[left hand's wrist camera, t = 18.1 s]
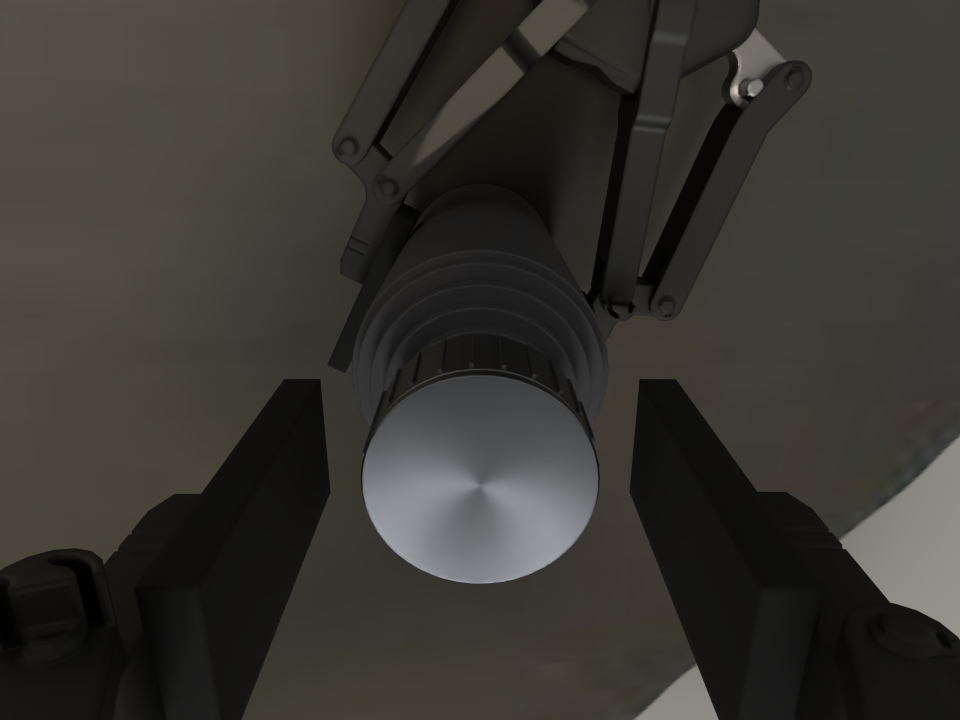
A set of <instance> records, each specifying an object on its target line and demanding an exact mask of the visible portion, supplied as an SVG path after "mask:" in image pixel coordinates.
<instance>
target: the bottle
mask: <svg viewBox="0 0 960 720" xmlns="http://www.w3.org/2000/svg"><path fill="white" fill-rule="evenodd" d="M470 334H474V335H488V336H497V337H499V336H503V338H507V339H511V340H515V341H517V342H520V343H522V344H525V345H527V344H529V345H531V348H533V349H535V350H537V351H538V352H540V353H541V354H543V355H544V356H546V357H547V358H548V359H551V358H552V359H553V360H554V363H555V365H556V366H557V367H558V368H559V369H560V370H561V371H562V373H563V374H564V375H565V376H566V378H567V379H569V378H570V379H571V381H572V383H573V386H574V389H575V392H576V395H577V398H578V401H579V402H580V401H582V404H583V406H584V409H585V412H586V415H587V418H588V421H589V424H590V427H592V426H593V424H594V422H595V420H596V418H597V416H598V414H599V412H600V410H601V407H602V404H603V401H604V398H605V394H606V388H607V383H608V355H607V348H606V344H605V340H604V336H603V333H602V330H601V328H600V325H599V323H598V320H597V318H596V316H595V314H594V313H593V311H592V309H591V307H590V305H589V304H588V302H587V300H586V298H585V296H584V295H583V293H582V291H581V289H580V288H579V286H578V284H577V282H576V280H575V279H574V277H573V275H572V273H571V271H570V270H569V268H568V266H567V264H566V262H565V261H564V259H563V257H562V255H561V253H560V252H559V250H558V248H557V246H556V245H555V243H554V241H553V239H552V237H551V236H550V234H549V232H548V230H547V228H546V227H545V225H544V223H543V221H542V220H541V218H540V216H539V214H538V213H537V212H536V210H535V209H534V208H533V207H532V206H531V205H530V204H529V203H528V202H527V201H526V200H525V199H524V198H522V197H521V196H520V195H518V194H516V193H515V192H513V191H511V190H509V189H506V188H504V187H501V186H497V185H493V184H484V183H479V184H468V185H463V186H460V187H457V188H454V189H452V190H449V191H447V192H445V193H444V194H442V195H441V196H439V197H438V198H437V199H435V200H434V201H433V202H432V203H431V204H430V205H429V206H428V207H427V208H426V209H425V211H424V212H423V214H422V215H421V216H420V218H419V220H418V222H417V223H416V225H415V227H414V229H413V231H412V232H411V234H410V236H409V238H408V239H407V241H406V243H405V245H404V247H403V248H402V250H401V252H400V254H399V256H398V257H397V259H396V261H395V263H394V265H393V266H392V268H391V270H390V272H389V274H388V275H387V277H386V279H385V281H384V283H383V284H382V286H381V288H380V290H379V292H378V293H377V295H376V297H375V299H374V301H373V302H372V304H371V306H370V308H369V310H368V311H367V313H366V315H365V317H364V319H363V321H362V323H361V325H360V328H359V331H358V334H357V337H356V340H355V346H354V351H353V358H352V377H353V387H354V391H355V395H356V400H357V403H358V406H359V408H360V411H361V413H362V416H363V418H364V420H365V421H366V423H367V425H368V427H369V429H370V427H371V424H372V421H373V418H374V415H375V412H376V409H377V406H378V403H379V401H380V398H381V395H382V392H383V390H384V391H386V390H387V388H388V387H389V385H390V383H391V381H392V380H393V378H394V376H395V373H396V371H397V370H398V369H401V368H402V367H403V366H405V365H406V364H407V363H408V362H409V361H410V360H411V359H412V358H414V357H415V356H416V354H417V352H419V351H420V352H422V351H424V350H426V349H428V348H429V347H431V346H433V345H436V344H438V343H441V342H442V340H444V339H446V340H450V339H454V338H457V337H464V336H470Z"/></svg>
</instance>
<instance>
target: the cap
mask: <svg viewBox="0 0 960 720" xmlns="http://www.w3.org/2000/svg"><path fill="white" fill-rule="evenodd" d="M594 441H595V438H594V435H593V432H592V429H591V427H590V424H589V421H588V418H587V415H586V412H585V409H584V406H583V404H582V401H580V402H579V401H578V398H577V395H576V392H575V389H574V386H573V383H572V381H571V379H570V378H569V379H567V378H566V376H565V375H564V374H563V373H562V371H561V370H560V369H559V368H558V367H557V366H556V365H555V363H554V360H553V359H552V358H551V359H548V358H547V357H546V356H544V355H543V354H541V353H540V352H538V351H537V350H535V349H533V348H531V345H529V344H527V345H525V344H522V343H520V342H517V341H515V340H511V339H507V338H503V336H499V337H497V336H488V335H474V334H470V336H464V337H457V338H454V339H450V340H446V339H444V340H442V342H441V343H438V344H436V345H433V346H431V347H429V348H428V349H426V350H424V351H422V352H420V351H419V352H417V354H416V356H415V357H414V358H412V359H411V360H410V361H409V362H408V363H407V364H406V365H405V366H403V367H402V368H401V369H398V370H397V371H396V373H395V376H394V378H393V380H392V381H391V383H390V385H389V387H388V388H387V390H386V391H384V390H383V392H382V395H381V398H380V401H379V403H378V406H377V409H376V412H375V415H374V418H373V421H372V424H371V427H370V432H369V435H368V438H367V441H366V444H365V447H364V450H363V453H362V456H364V458H363V462H362V470H361V488H362V495H363V500H364V504H365V507H366V510H367V513H368V515H369V518H370V520H371V522H372V523H373V525H374V527H375V529H376V531H377V532H378V533H379V535H380V536H381V537H382V539H383V540H384V541H385V543H386V544H387V545H388V546H389V547H390V548H391V549H392V550H393V551H394V552H395V553H397V554H398V555H399V556H400V557H402V558H403V559H404V560H405V561H407V562H409V563H410V564H412V565H414V566H415V567H417V568H419V569H421V570H423V571H425V572H427V573H429V574H432V575H435V576H438V577H441V578H444V579H448V580H452V581H457V582H465V583H496V582H504V581H508V580H513V579H517V578H520V577H523V576H526V575H529V574H531V573H533V572H536V571H538V570H540V569H542V568H544V567H545V566H547V565H549V564H550V563H552V562H553V561H555V560H556V559H558V558H559V557H560V556H561V555H563V554H564V553H565V552H566V551H567V550H568V549H569V548H570V547H571V546H572V545H573V544H574V543H575V542H576V541H577V539H578V538H579V537H580V535H581V534H582V533H583V531H584V530H585V528H586V526H587V524H588V523H589V521H590V519H591V517H592V514H593V511H594V509H595V506H596V502H597V498H598V493H599V482H600V475H599V463H598V460H597V455H596V451H595V448H594V445H593V442H594Z"/></svg>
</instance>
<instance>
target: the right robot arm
mask: <svg viewBox="0 0 960 720" xmlns="http://www.w3.org/2000/svg"><path fill="white" fill-rule="evenodd" d="M458 1H459V0H407V1H406V3H405V4H404V6H403V8H402V10H401V12H400V14H399V16H398V18H397V19H396V21H395V23H394V25H393V27H392V29H391V31H390V33H389V34H388V36H387V38H386V40H385V42H384V44H383V46H382V48H381V49H380V51H379V53H378V55H377V57H376V59H375V61H374V63H373V64H372V66H371V68H370V70H369V72H368V74H367V76H366V78H365V79H364V81H363V83H362V85H361V87H360V89H359V91H358V93H357V94H356V96H355V98H354V100H353V102H352V104H351V106H350V108H349V110H348V111H347V113H346V115H345V117H344V119H343V121H342V123H341V125H340V126H339V128H338V130H337V132H336V134H335V136H334V138H333V141H332V151H333V153H334V155H335V157H336V158H337V159H338V160H339V161H340V162H341V163H344V164H346V165H347V166H348V167H349V168H350V169H351V170H352V171H353V172H354V173H355V174H356V175H357V176H358V177H359V178H360V180H361V181H362V182H363V184H364V186H365V190H366V200H365V204H364V206H363V208H362V211H361V213H360V215H359V218H358V220H357V222H356V225H355V227H354V229H353V232H352V234H351V237H350V239H349V241H348V243H347V246H346V248H345V250H344V253H343V255H342V258H341V260H340V274H342V275H344V276H346V277H348V278H350V279H352V280H354V281H357V282H359V283H361V284H363V286H362V288H361V290H360V292H359V295H358V297H357V299H356V301H355V304H354V306H353V308H352V310H351V313H350V315H349V317H348V319H347V322H346V324H345V326H344V328H343V331H342V333H341V335H340V337H339V340H338V342H337V344H336V346H335V349H334V351H333V353H332V355H331V358H330V360H329V362H328V364H327V365H328V366H331V367H333V368H335V369H337V370H340V371H342V372H344V373H345V372H346V370H347V368H348V366H349V364H350V363H351V361H352V358H353V351H354V346H355V340H356V337H357V334H358V331H359V328H360V325H361V323H362V321H363V319H364V317H365V315H366V313H367V311H368V310H369V308H370V306H371V304H372V302H373V301H374V299H375V297H376V295H377V293H378V292H379V290H380V288H381V286H382V284H383V283H384V281H385V279H386V277H387V275H388V274H389V272H390V270H391V268H392V266H393V265H394V263H395V261H396V259H397V257H398V256H399V254H400V252H401V250H402V248H403V247H404V245H405V243H406V241H407V239H408V237H409V235H410V233H411V231H412V228H413V226H414V224H415V222H416V220H417V217H418V215H419V213H420V211H419V210H417V209H415V208H413V207H411V206H409V205H407V204H404V200H405V198H406V196H407V194H408V193H409V192H410V191H411V190H412V189H413V188H414V187H415V186H416V185H417V183H418V182H419V181H420V180H421V179H422V178H423V177H424V176H425V175H426V174H427V173H428V172H429V171H430V170H431V169H432V168H433V167H434V166H435V165H436V164H437V163H438V162H439V161H440V160H441V159H442V158H443V157H444V156H445V155H446V154H447V153H448V152H449V151H450V150H451V149H452V148H453V147H454V146H455V145H456V144H457V143H458V142H459V141H460V140H461V139H462V138H463V137H464V136H465V135H466V134H467V133H468V132H469V131H470V130H471V129H472V128H473V126H474V125H475V124H476V123H477V122H478V121H479V120H480V119H481V118H482V117H483V116H484V115H485V114H486V113H487V112H488V111H489V110H490V109H491V108H492V107H493V106H494V105H495V104H496V103H497V102H498V101H499V100H500V99H501V98H502V97H503V96H504V95H505V94H506V93H507V92H508V91H509V90H510V89H511V88H512V87H513V86H514V85H515V84H516V83H517V82H518V81H519V80H520V79H521V78H522V77H523V76H524V75H525V74H526V73H527V72H528V71H529V70H530V69H531V68H532V67H533V66H534V65H535V64H536V63H537V62H538V61H539V60H540V58H541V57H542V56H543V55H544V54H545V53H546V52H547V51H549V55H550V56H552V57H554V58H556V59H558V60H559V61H561V62H563V63H565V64H567V65H572V66H576V67H581V68H585V69H588V70H590V71H591V72H592V73H593V74H594V75H595V76H596V77H597V78H598V79H599V80H600V81H601V83H602V84H603V85H605V86H607V87H608V88H610V89H612V90H614V91H616V92H618V93H619V94H621V99H620V105H619V111H618V132H617V137H616V143H615V149H614V155H613V160H612V166H611V172H610V178H609V184H608V189H607V195H606V201H605V207H604V212H603V218H602V224H601V230H600V236H599V241H598V247H597V253H596V259H595V265H594V270H593V276H592V282H591V289H590V291H589V293H588V295H586V293H585V292H583V291H582V293H583V295H584V296H585V298H586V300H587V302H588V304H589V305H590V307H591V309H592V311H593V313H594V314H595V316H596V318H597V320H598V323H599V325H600V328H601V330H602V333H603V336H604V340H605V341H606V340H607V338H608V336H609V335H610V333H611V331H612V330H613V328H614V326H615V325H616V323H617V322H620V321H626V320H628V319H630V318H631V317H632V316H633V315H644V316H653V317H655V318H657V319H659V320H662V321H668V320H672V319H674V318H675V317H677V316H678V314H679V313H680V312H681V310H682V308H683V306H684V304H685V302H686V299H687V297H688V295H689V293H690V291H691V289H692V287H693V285H694V283H695V281H696V279H697V277H698V275H699V273H700V271H701V269H702V267H703V265H704V263H705V261H706V259H707V256H708V254H709V252H710V250H711V248H712V246H713V244H714V242H715V240H716V238H717V236H718V234H719V232H720V230H721V228H722V226H723V224H724V222H725V220H726V218H727V216H728V213H729V211H730V209H731V207H732V205H733V203H734V201H735V199H736V197H737V195H738V193H739V191H740V189H741V187H742V185H743V183H744V181H745V179H746V177H747V175H748V173H749V170H750V168H751V166H752V164H753V162H754V160H755V158H756V156H757V154H758V152H759V150H760V148H761V146H762V144H763V142H764V140H765V138H766V136H767V134H768V132H769V131H770V130H771V129H772V127H773V126H774V125H775V124H776V123H777V122H778V121H779V120H780V119H781V118H782V117H783V116H784V115H785V114H786V113H787V112H788V110H789V109H790V108H791V107H792V106H793V105H794V104H795V103H796V102H797V101H798V100H799V99H800V98H801V97H802V96H803V94H804V93H805V92H806V91H807V89H808V88H809V86H810V84H811V80H812V73H811V70H810V68H809V66H808V65H807V64H806V63H804V62H803V61H796V60H795V61H786V60H785V59H784V58H783V57H782V56H781V55H780V54H779V53H778V52H777V51H776V50H775V49H774V48H773V47H772V45H771V44H770V43H769V42H768V41H767V40H766V39H765V38H764V37H763V36H762V35H761V34H760V33H759V32H758V31H757V30H756V28H755V26H756V24H757V20H758V16H759V2H760V0H532V2H533V11H532V12H531V13H530V15H529V16H528V17H527V18H526V19H525V20H524V21H523V22H522V23H521V24H520V25H519V26H518V27H517V28H516V29H515V30H514V31H513V32H512V33H511V35H510V36H509V37H508V38H507V39H506V40H505V41H504V42H503V44H502V45H501V46H500V47H499V48H498V49H497V50H496V51H495V52H494V53H493V54H492V55H491V56H490V57H489V58H488V59H487V60H486V61H485V62H484V63H483V65H482V66H481V67H480V68H479V69H478V70H477V71H476V72H475V73H474V74H473V75H472V76H471V77H470V78H469V79H468V80H467V81H466V82H465V83H464V84H463V85H462V86H461V87H460V89H459V90H458V91H457V92H456V93H455V94H454V95H453V96H452V97H451V98H450V99H449V100H448V101H447V102H446V103H445V104H444V105H443V106H442V107H441V108H440V109H439V110H438V111H437V113H436V114H435V115H434V116H433V117H432V118H431V119H430V120H429V121H428V122H427V123H426V124H425V125H424V126H423V127H422V128H421V129H420V130H419V131H418V132H417V133H416V134H415V136H414V137H413V138H412V139H411V140H410V141H409V142H408V143H407V144H406V145H405V146H404V147H403V148H402V149H401V150H400V151H399V152H398V153H397V154H396V155H395V156H394V157H392V156H391V155H390V154H389V153H388V152H387V151H386V150H385V149H384V148H383V147H382V146H381V145H380V144H379V143H380V141H381V139H382V138H383V136H384V134H385V132H386V130H387V129H388V127H389V125H390V123H391V122H392V120H393V118H394V116H395V114H396V113H397V111H398V109H399V107H400V105H401V104H402V102H403V100H404V98H405V96H406V95H407V93H408V91H409V89H410V87H411V86H412V84H413V82H414V80H415V78H416V77H417V75H418V73H419V71H420V69H421V68H422V66H423V64H424V62H425V60H426V59H427V57H428V55H429V53H430V51H431V50H432V48H433V46H434V44H435V42H436V41H437V39H438V37H439V35H440V34H441V32H442V30H443V28H444V26H445V25H446V23H447V21H448V19H449V17H450V16H451V14H452V12H453V10H454V8H455V7H456V5H457V3H458ZM724 55H726V57H727V58H728V61H729V72H728V75H727V77H726V79H725V81H724V83H723V85H722V97H723V99H724V101H725V102H726V104H725V105H724V107H723V108H722V109H721V111H720V112H719V114H718V115H717V117H716V118H715V120H714V122H713V124H712V126H711V128H710V130H709V131H708V134H707V136H706V138H705V140H704V142H703V145H702V147H701V149H700V151H699V153H698V155H697V158H696V160H695V162H694V164H693V166H692V168H691V171H690V173H689V175H688V177H687V179H686V182H685V184H684V186H683V188H682V190H681V192H680V195H679V197H678V199H677V201H676V203H675V206H674V208H673V210H672V212H671V214H670V216H669V219H668V221H667V223H666V225H665V227H664V230H663V232H662V234H661V236H660V238H659V240H658V243H657V245H656V247H655V249H654V251H653V253H652V256H651V258H650V260H649V262H648V264H647V267H646V269H645V271H644V273H643V275H642V277H638V272H639V267H640V262H641V257H642V252H643V247H644V241H645V236H646V231H647V226H648V221H649V216H650V211H651V206H652V201H653V196H654V191H655V186H656V181H657V175H658V170H659V165H660V160H661V155H662V150H663V145H664V140H665V135H666V132H667V129H668V127H669V126H670V124H671V121H672V118H673V114H674V109H675V104H676V99H677V94H678V89H679V84H680V79H681V78H683V77H685V76H687V75H689V74H691V73H692V72H694V71H696V70H698V69H700V68H702V67H704V66H705V65H707V64H709V63H711V62H713V61H715V60H716V59H718V58H720V57H722V56H724Z"/></svg>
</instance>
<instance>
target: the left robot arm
mask: <svg viewBox="0 0 960 720" xmlns="http://www.w3.org/2000/svg"><path fill="white" fill-rule="evenodd" d="M329 494H330V483H329V471H328V460H327V449H326V438H325V427H324V415H323V404H322V393H321V382H320V379H284V380H283V382H282V383H281V384H280V386H279V387H278V389H277V390H276V391H275V393H274V394H273V396H272V397H271V398H270V400H269V401H268V402H267V404H266V405H265V407H264V408H263V409H262V411H261V412H260V413H259V415H258V416H257V418H256V419H255V420H254V422H253V423H252V425H251V426H250V427H249V429H248V430H247V431H246V433H245V434H244V436H243V437H242V438H241V440H240V441H239V442H238V444H237V445H236V447H235V448H234V449H233V451H232V452H231V453H230V455H229V456H228V458H227V459H226V460H225V462H224V463H223V465H222V466H221V467H220V469H219V470H218V471H217V473H216V474H215V476H214V477H213V478H212V480H211V481H210V482H209V484H208V485H207V487H206V488H205V489H204V491H203V492H202V493H201V494H174V495H172V496H171V497H169V498H168V499H166V500H165V501H163V502H161V503H160V504H158V505H157V506H155V507H154V508H152V509H151V510H149V511H148V512H147V513H146V514H145V516H144V517H143V518H142V519H141V520H140V522H139V523H138V524H137V525H136V527H135V528H134V529H133V530H132V535H128V536H127V537H126V539H125V540H124V541H123V542H122V543H121V545H120V546H119V547H118V552H114V553H113V554H112V556H111V557H110V558H109V559H108V560H107V562H106V563H105V564H104V565H103V560H102V559H101V558H100V557H99V556H97V555H96V554H95V553H93V552H92V551H87V550H81V549H76V548H73V549H61V550H52V551H48V552H44V553H41V554H37V555H33V556H29V557H27V558H25V559H22V560H20V561H18V562H16V563H14V564H11V565H9V566H7V567H5V568H3V569H2V570H0V720H241V719H242V717H243V714H244V711H245V709H246V706H247V704H248V701H249V699H250V696H251V694H252V691H253V688H254V686H255V683H256V681H257V678H258V676H259V673H260V671H261V668H262V665H263V663H264V660H265V658H266V655H267V653H268V650H269V647H270V645H271V642H272V640H273V637H274V635H275V632H276V630H277V627H278V624H279V622H280V619H281V617H282V614H283V612H284V609H285V607H286V604H287V601H288V599H289V596H290V594H291V591H292V589H293V586H294V584H295V581H296V578H297V576H298V573H299V571H300V568H301V566H302V563H303V561H304V558H305V555H306V553H307V550H308V548H309V545H310V543H311V540H312V538H313V535H314V532H315V530H316V527H317V525H318V522H319V520H320V517H321V515H322V512H323V509H324V507H325V504H326V502H327V499H328V497H329ZM630 494H631V497H632V499H633V502H634V504H635V507H636V509H637V512H638V515H639V517H640V520H641V522H642V525H643V527H644V530H645V532H646V535H647V538H648V540H649V543H650V545H651V548H652V550H653V553H654V555H655V558H656V561H657V563H658V566H659V568H660V571H661V573H662V576H663V578H664V581H665V584H666V586H667V589H668V591H669V594H670V596H671V599H672V601H673V604H674V607H675V609H676V612H677V614H678V617H679V619H680V622H681V624H682V627H683V630H684V632H685V635H686V637H687V640H688V642H689V645H690V647H691V650H692V653H693V655H694V658H695V660H696V663H697V665H698V668H699V670H700V673H701V676H702V678H703V681H704V683H705V686H706V688H707V691H708V693H709V696H710V699H711V701H712V704H713V706H714V709H715V711H716V714H717V717H718V719H719V720H960V639H959V638H958V637H957V636H956V635H955V634H954V633H952V632H951V631H950V630H949V629H947V628H946V627H945V626H944V625H942V624H941V623H940V622H938V621H936V620H934V619H932V618H930V617H929V616H927V615H925V614H923V613H921V612H919V611H917V610H914V609H910V608H907V607H904V606H901V605H897V604H894V603H890V602H889V601H888V600H887V598H886V597H885V596H884V595H883V594H882V592H881V591H880V590H879V589H878V587H877V586H876V585H875V584H874V583H873V581H872V580H871V579H870V578H869V577H868V575H867V574H866V573H865V572H864V571H863V569H862V568H861V567H860V566H859V565H858V563H857V562H856V561H855V560H854V559H853V557H852V556H851V555H850V554H849V553H848V551H847V550H846V549H842V544H841V543H840V542H839V541H838V539H837V538H836V537H835V536H834V535H833V533H832V532H829V531H828V527H827V526H826V525H825V524H824V523H823V521H822V520H821V519H820V518H819V517H818V515H817V514H816V513H815V512H814V510H813V509H812V508H810V507H809V506H807V505H805V504H804V503H802V502H801V501H799V500H798V499H796V498H795V497H793V496H791V495H790V494H788V493H787V492H757V491H756V489H755V488H754V487H753V485H752V484H751V482H750V481H749V480H748V478H747V477H746V476H745V474H744V473H743V471H742V470H741V469H740V467H739V466H738V465H737V463H736V462H735V460H734V459H733V458H732V456H731V455H730V453H729V452H728V451H727V449H726V448H725V447H724V445H723V444H722V442H721V441H720V440H719V438H718V437H717V436H716V434H715V433H714V431H713V430H712V429H711V427H710V426H709V425H708V423H707V422H706V420H705V419H704V418H703V416H702V415H701V413H700V412H699V411H698V409H697V408H696V407H695V405H694V404H693V402H692V401H691V400H690V398H689V397H688V396H687V394H686V393H685V391H684V390H683V389H682V387H681V386H680V384H679V383H678V382H677V380H676V379H640V382H639V393H638V404H637V416H636V427H635V438H634V449H633V460H632V471H631V483H630Z"/></svg>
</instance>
